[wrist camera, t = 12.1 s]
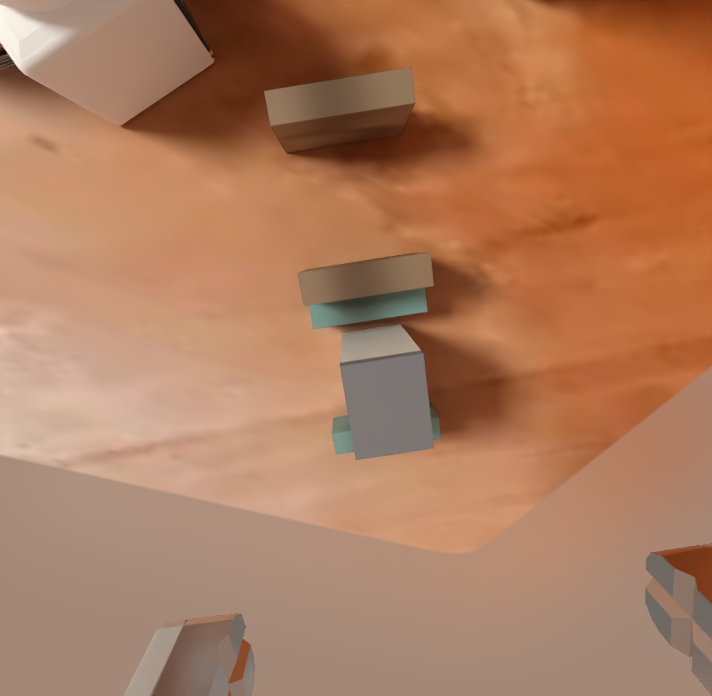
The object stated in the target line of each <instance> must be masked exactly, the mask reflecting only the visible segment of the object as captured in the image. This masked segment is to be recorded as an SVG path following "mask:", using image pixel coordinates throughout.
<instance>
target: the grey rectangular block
mask: <svg viewBox="0 0 712 696" xmlns="http://www.w3.org/2000/svg"><path fill="white" fill-rule="evenodd" d="M340 369H341V375H342V381H343V387H344V393H345V399H346V405H347V410H348V416H349V422H350V428H351V434H352V440H353V446H354V452H355V458H356V460H360V459H366V458H373V457H380V456H386V455H393V454H399V453H406V452H413V451H419V450H426V449H433V448H434V442H433V433H432V424H431V415H430V406H429V398H428V389H427V380H426V371H425V362H424V353H423V352H422V351H421V350H420V348H419V347H418V346H417V345H416V343H415V342H414V341H413V340H412V338H411V337H410V336H409V335H408V333H407V332H406V331H405V330H404V328H403V327H402V326H401V324H397V325H390V326H384V327H377V328H371V329H364V330H358V331H351V332H345V333H342V336H341V357H340Z"/></svg>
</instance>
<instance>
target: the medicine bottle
mask: <svg viewBox="0 0 712 696" xmlns="http://www.w3.org/2000/svg"><path fill="white" fill-rule="evenodd" d="M0 43H1V44H2V46H3V47H4V48H5V50H6V51H7V53H8V54H9V56H10V57H11V59H12V60H13V61H14V63H15V64H16V66H17V67H18V68H19V69H20V70H21V71H22V72H23V73H24V74H25V75H26V76H28V77H30V78H32V79H34V80H35V81H37V82H39V83H41V84H42V85H44V86H46V87H48V88H50V89H51V90H53V91H55V92H57V93H58V94H60V95H62V96H64V97H66V98H67V99H69V100H71V101H73V102H74V103H76V104H78V105H80V106H81V107H83V108H85V109H87V110H89V111H90V112H92V113H94V114H96V115H97V116H99V117H101V118H103V119H105V120H106V121H108V122H110V123H112V124H113V125H116V126H120V125H123V124H124V123H126V122H127V121H129V120H130V119H132V118H133V117H135V116H136V115H137V114H139V113H140V112H142V111H143V110H145V109H146V108H148V107H149V106H151V105H152V104H154V103H155V102H157V101H158V100H160V99H161V98H163V97H164V96H166V95H167V94H169V93H170V92H172V91H173V90H174V89H176V88H177V87H179V86H180V85H182V84H183V83H185V82H186V81H188V80H189V79H191V78H192V77H194V76H195V75H197V74H198V73H200V72H201V71H203V70H204V69H206V68H207V67H208V66H210V65H211V64H213V62H214V60H215V57H214V53H213V51H212V50H211V48H210V46H209V44H208V43H207V41H206V39H205V37H204V36H203V34H202V32H201V31H200V29H199V27H198V25H197V24H196V22H195V20H194V18H193V17H192V15H191V13H190V11H189V10H188V8H187V6H186V5H185V3H184V1H183V0H0Z"/></svg>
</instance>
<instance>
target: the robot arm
mask: <svg viewBox="0 0 712 696" xmlns="http://www.w3.org/2000/svg"><path fill="white" fill-rule="evenodd" d="M646 570H647V571H648V572H649V573H650V574H651V575H652V576H653V578H652V580H651V581H650V582H649V584H648V585H647V586H646V588H645V602H646V605H647V608H648V610H649V613H650V616H651V618H652V620H653V622H654V624H655V625H656V627H657V629H658V630H659V632H660V633H661V634H662V636H664V638H665V639H666V640H667V642H668V643H669V644H670V645H671V646H673V647H674V648H676V649H678V650H679V651H681V652H682V653H684V654H686V655H688V656H689V657H690V664H691V671H692V672H693V673H694V674H695V676H696V677H697V678H698V679H699V681H700V682H701V683H702V684H703V685H704V687H705V688H706V689H707V690H708V691H709V693H710V694H711V695H712V543H710V544H703V545H696V546H689V547H683V548H677V549H670V550H664V551H658V552H651V553H650V554H649V555H648V557H647V558H646ZM245 628H246V626H245V623H244V620H243V617H242V614H229V615H219V616H211V617H202V618H193V619H188V620H181V621H172V622H165V623H164V624H163V625H162V626H161V627H160V628H159V629H158V630H157V631H156V633H155V635H154V637H153V639H152V641H151V643H150V645H149V647H148V649H147V651H146V653H145V655H144V657H143V659H142V661H141V663H140V665H139V666H138V668H137V670H136V672H135V675H134V676H133V678H132V680H131V682H130V684H129V686H128V688H127V690H126V692H125V694H124V696H252V691H253V686H254V685H253V684H254V669H255V667H254V656H253V651H252V648H251V645H250V644H249V643H248V642H247V641H245V640H244V639H243V636H244V632H245Z"/></svg>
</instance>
